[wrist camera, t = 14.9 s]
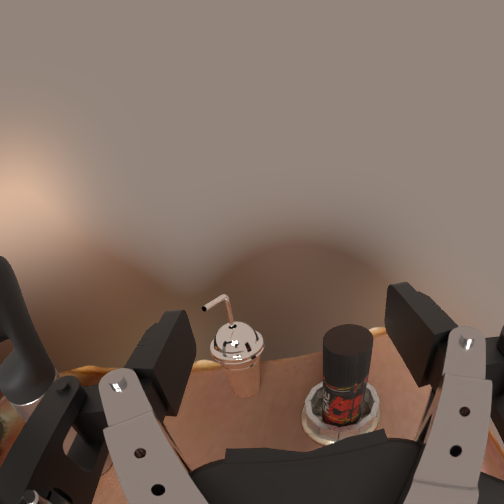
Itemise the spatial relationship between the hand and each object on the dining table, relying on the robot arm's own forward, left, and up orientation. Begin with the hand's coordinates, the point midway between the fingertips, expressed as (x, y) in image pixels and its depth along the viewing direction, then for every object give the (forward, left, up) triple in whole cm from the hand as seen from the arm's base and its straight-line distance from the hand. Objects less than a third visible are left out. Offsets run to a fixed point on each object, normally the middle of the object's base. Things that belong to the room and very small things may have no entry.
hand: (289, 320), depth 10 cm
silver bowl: (+7, +16, -30) cm, 35 cm away
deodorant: (+7, +16, -29) cm, 34 cm away
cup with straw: (-8, +25, -30) cm, 40 cm away
